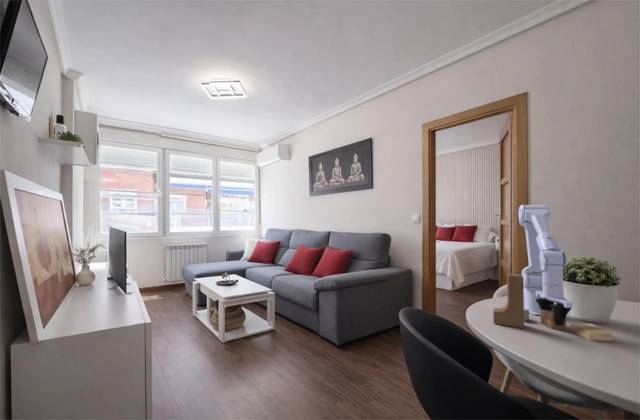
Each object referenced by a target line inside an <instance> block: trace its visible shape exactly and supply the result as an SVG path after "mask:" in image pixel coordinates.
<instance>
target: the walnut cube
mask: <svg viewBox="0 0 640 420" xmlns="http://www.w3.org/2000/svg"><path fill="white" fill-rule="evenodd" d="M540 324H541V325H543V326H545V327H547V328H548V329H551V330H567V318H565V320H564V324H563V326H561V325H556V324H555V320H554V313H553V310H541V315H540Z"/></svg>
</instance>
